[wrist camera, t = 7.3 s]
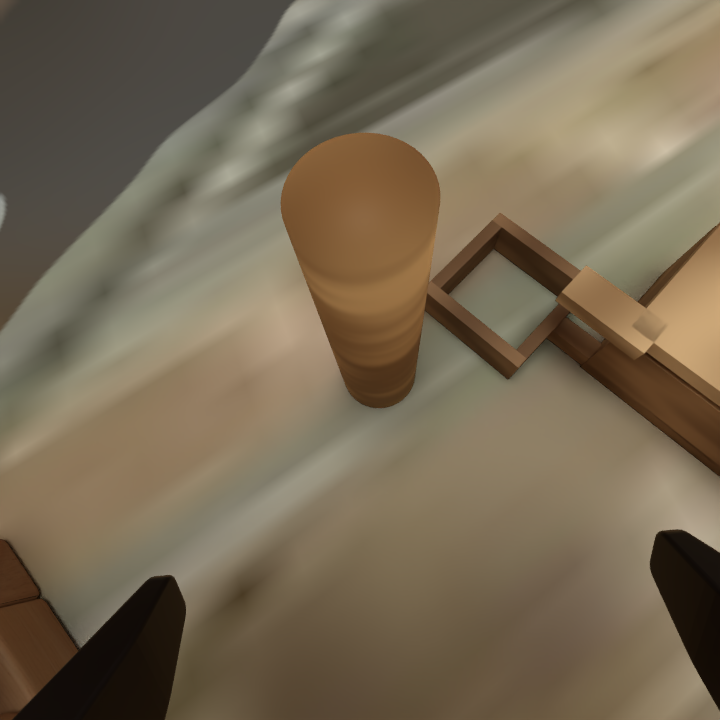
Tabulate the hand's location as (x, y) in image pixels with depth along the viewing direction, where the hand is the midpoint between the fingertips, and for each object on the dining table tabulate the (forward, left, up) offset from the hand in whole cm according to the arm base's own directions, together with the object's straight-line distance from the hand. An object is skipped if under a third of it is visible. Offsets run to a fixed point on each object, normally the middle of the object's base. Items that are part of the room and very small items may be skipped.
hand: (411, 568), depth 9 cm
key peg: (+6, -5, -13) cm, 15 cm away
